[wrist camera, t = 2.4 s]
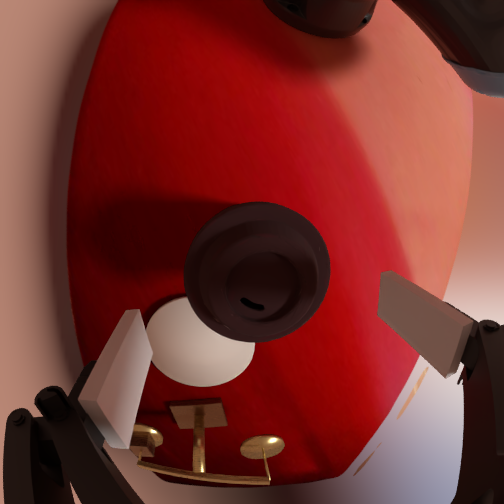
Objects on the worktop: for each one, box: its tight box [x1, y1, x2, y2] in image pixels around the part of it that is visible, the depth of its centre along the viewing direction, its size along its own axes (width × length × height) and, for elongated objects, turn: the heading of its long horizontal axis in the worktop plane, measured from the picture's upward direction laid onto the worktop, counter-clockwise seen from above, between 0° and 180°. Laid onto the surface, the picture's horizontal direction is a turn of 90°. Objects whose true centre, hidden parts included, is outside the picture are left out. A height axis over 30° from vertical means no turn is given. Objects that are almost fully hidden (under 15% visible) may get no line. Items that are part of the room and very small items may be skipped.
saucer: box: [146, 296, 255, 387], centre depth 33 cm, size 14×14×1 cm
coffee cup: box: [184, 202, 330, 343], centre depth 23 cm, size 10×10×15 cm
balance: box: [129, 398, 284, 484], centre depth 30 cm, size 6×24×15 cm, turn 96°
